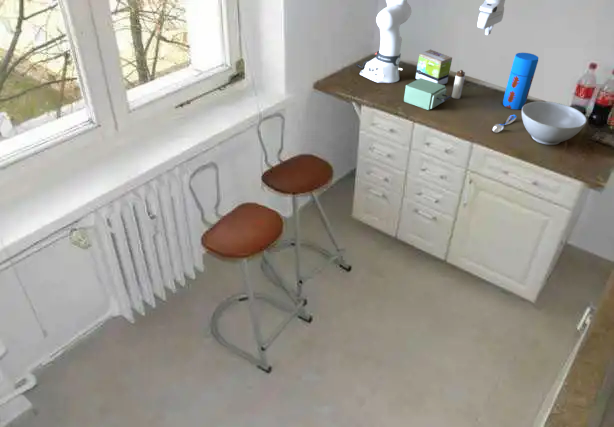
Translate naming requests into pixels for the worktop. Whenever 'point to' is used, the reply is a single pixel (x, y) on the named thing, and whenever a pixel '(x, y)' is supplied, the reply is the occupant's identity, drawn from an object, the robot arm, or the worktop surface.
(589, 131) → the worktop surface
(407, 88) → the cabinet
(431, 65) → the tea box
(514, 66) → the thermos
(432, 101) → the drawer
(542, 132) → the decorative bowl
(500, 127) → the silver spoon
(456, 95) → the canister with knobbed lid
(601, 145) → the worktop surface
